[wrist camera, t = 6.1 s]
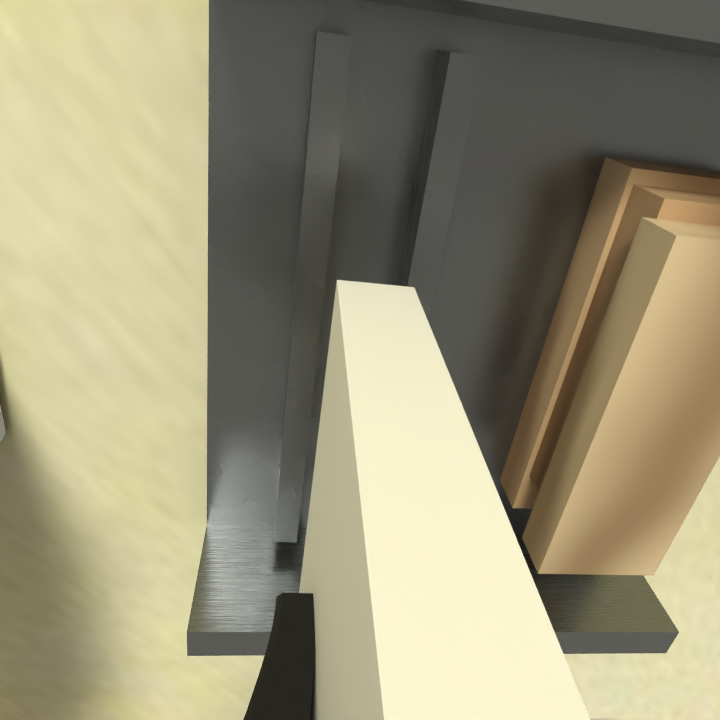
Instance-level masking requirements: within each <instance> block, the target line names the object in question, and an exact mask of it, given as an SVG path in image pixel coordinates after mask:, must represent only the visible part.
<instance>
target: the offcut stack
mask: <svg viewBox="0 0 720 720" xmlns="http://www.w3.org/2000/svg"><path fill="white" fill-rule="evenodd" d="M719 456H720V172H715V171H708V170H700V169H693V168H685V167H677V166H670V165H662V164H654V163H647V162H639V161H631V160H624V159H616V158H608V157H605V160H604V163H603V166H602V169H601V172H600V175H599V178H598V181H597V185H596V188H595V191H594V194H593V197H592V200H591V203H590V206H589V209H588V212H587V215H586V218H585V221H584V224H583V227H582V230H581V234H580V237H579V240H578V243H577V246H576V249H575V252H574V255H573V258H572V261H571V264H570V267H569V270H568V273H567V276H566V279H565V283H564V286H563V289H562V292H561V295H560V298H559V301H558V304H557V307H556V310H555V313H554V316H553V319H552V322H551V325H550V328H549V332H548V335H547V338H546V341H545V344H544V347H543V350H542V353H541V356H540V359H539V362H538V365H537V368H536V371H535V374H534V377H533V381H532V384H531V387H530V390H529V393H528V396H527V399H526V402H525V405H524V408H523V411H522V414H521V417H520V420H519V423H518V427H517V430H516V433H515V436H514V439H513V442H512V445H511V448H510V451H509V454H508V457H507V460H506V463H505V466H504V469H503V472H502V476H501V479H500V481H501V483H502V486H503V488H504V490H505V492H506V495H507V497H508V499H509V501H510V503H511V506H512V508H526V509H532V512H531V515H530V518H529V520H528V523H527V526H526V528H525V531H524V534H523V536H522V539H523V541H524V543H525V545H526V548H527V550H528V552H529V554H530V557H531V559H532V561H533V563H534V566H535V568H536V570H537V572H538V574H589V575H651V576H654V574H655V572H656V570H657V568H658V567H659V565H660V563H661V561H662V559H663V557H664V556H665V554H666V552H667V550H668V548H669V547H670V545H671V543H672V541H673V539H674V538H675V536H676V534H677V532H678V530H679V529H680V527H681V525H682V523H683V521H684V520H685V518H686V516H687V514H688V512H689V510H690V509H691V507H692V505H693V503H694V501H695V500H696V498H697V496H698V494H699V492H700V491H701V489H702V487H703V485H704V483H705V482H706V480H707V478H708V476H709V474H710V473H711V471H712V469H713V467H714V465H715V464H716V462H717V460H718V458H719Z"/></svg>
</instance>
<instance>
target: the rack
mask: <svg viewBox="0 0 720 720" xmlns="http://www.w3.org/2000/svg"><path fill="white" fill-rule="evenodd" d="M605 157H608V158H616V159H624V160H631V161H639V162H647V163H654V164H662V165H670V166H677V167H685V168H693V169H700V170H708V171H715V172H720V0H209V152H208V387H207V527H206V533H205V538H204V543H203V549H202V554H201V560H200V565H199V570H198V576H197V581H196V586H195V592H194V597H193V602H192V608H191V613H190V619H189V624H188V629H187V655H188V656H220V655H265V653H266V649H267V646H268V642H269V638H270V634H271V629H272V624H273V619H274V613H275V605H276V596H278V595H280V594H281V593H299V589H300V580H301V572H302V564H303V556H304V547H305V539H306V531H307V522H308V514H309V506H310V498H311V489H312V481H313V473H314V465H315V456H316V448H317V440H318V432H319V423H320V415H321V407H322V398H323V390H324V382H325V374H326V365H327V357H328V349H329V341H330V332H331V324H332V316H333V308H334V299H335V291H336V283H337V280H344V281H354V282H365V283H375V284H385V285H396V286H406V287H414V288H415V290H416V293H417V295H418V298H419V300H420V303H421V305H422V308H423V310H424V313H425V315H426V318H427V320H428V322H429V325H430V327H431V330H432V332H433V335H434V337H435V340H436V342H437V345H438V347H439V349H440V352H441V354H442V357H443V359H444V362H445V364H446V367H447V369H448V372H449V374H450V376H451V379H452V381H453V384H454V386H455V389H456V391H457V394H458V396H459V399H460V401H461V403H462V406H463V408H464V411H465V413H466V416H467V418H468V421H469V423H470V426H471V428H472V431H473V433H474V435H475V438H476V440H477V443H478V445H479V448H480V450H481V453H482V455H483V458H484V460H485V462H486V465H487V467H488V470H489V472H490V475H491V477H492V480H493V482H494V485H495V487H496V489H497V492H498V494H499V497H500V499H501V502H502V504H503V507H504V509H505V512H506V514H507V517H508V519H509V521H510V524H511V526H512V529H513V531H514V534H515V536H516V539H517V541H518V544H519V546H520V548H521V551H522V553H523V556H524V558H525V561H526V563H527V566H528V568H529V571H530V573H531V575H532V578H533V580H534V583H535V585H536V588H537V590H538V593H539V595H540V598H541V600H542V603H543V605H544V607H545V610H546V612H547V615H548V617H549V620H550V622H551V625H552V627H553V630H554V632H555V634H556V637H557V639H558V642H559V644H560V647H561V649H562V652H563V654H588V653H666V652H667V651H668V649H669V647H670V646H671V644H672V643H673V641H674V639H675V638H676V636H677V635H678V633H679V631H678V630H677V628H676V627H675V625H674V624H673V622H672V620H671V619H670V617H669V616H668V614H667V612H666V611H665V609H664V608H663V606H662V605H661V603H660V601H659V600H658V598H657V597H656V595H655V594H654V592H653V590H652V589H651V587H650V586H649V584H648V582H647V581H646V579H645V578H644V576H643V575H589V574H538V572H537V570H536V568H535V566H534V563H533V561H532V559H531V557H530V554H529V552H528V550H527V548H526V545H525V543H524V541H523V539H522V536H523V534H524V531H525V528H526V526H527V523H528V520H529V518H530V515H531V512H532V509H526V508H512V506H511V503H510V501H509V499H508V497H507V495H506V492H505V490H504V488H503V486H502V483H501V481H500V479H501V476H502V472H503V469H504V466H505V463H506V460H507V457H508V454H509V451H510V448H511V445H512V442H513V439H514V436H515V433H516V430H517V427H518V423H519V420H520V417H521V414H522V411H523V408H524V405H525V402H526V399H527V396H528V393H529V390H530V387H531V384H532V381H533V377H534V374H535V371H536V368H537V365H538V362H539V359H540V356H541V353H542V350H543V347H544V344H545V341H546V338H547V335H548V332H549V328H550V325H551V322H552V319H553V316H554V313H555V310H556V307H557V304H558V301H559V298H560V295H561V292H562V289H563V286H564V283H565V279H566V276H567V273H568V270H569V267H570V264H571V261H572V258H573V255H574V252H575V249H576V246H577V243H578V240H579V237H580V234H581V230H582V227H583V224H584V221H585V218H586V215H587V212H588V209H589V206H590V203H591V200H592V197H593V194H594V191H595V188H596V185H597V181H598V178H599V175H600V172H601V169H602V166H603V163H604V160H605Z"/></svg>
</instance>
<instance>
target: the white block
mask: <svg viewBox="0 0 720 720" xmlns="http://www.w3.org/2000/svg"><path fill="white" fill-rule="evenodd" d="M299 593H313V597H314V618H315V646H316V651H315V664H314V677H313V690H312V702H311V715H310V720H590V718H589V716H588V713H587V711H586V708H585V706H584V703H583V701H582V698H581V696H580V693H579V691H578V689H577V686H576V684H575V681H574V679H573V676H572V674H571V671H570V669H569V666H568V664H567V661H566V659H565V657H564V654H563V652H562V649H561V647H560V644H559V642H558V639H557V637H556V634H555V632H554V630H553V627H552V625H551V622H550V620H549V617H548V615H547V612H546V610H545V607H544V605H543V603H542V600H541V598H540V595H539V593H538V590H537V588H536V585H535V583H534V580H533V578H532V575H531V573H530V571H529V568H528V566H527V563H526V561H525V558H524V556H523V553H522V551H521V548H520V546H519V544H518V541H517V539H516V536H515V534H514V531H513V529H512V526H511V524H510V521H509V519H508V517H507V514H506V512H505V509H504V507H503V504H502V502H501V499H500V497H499V494H498V492H497V489H496V487H495V485H494V482H493V480H492V477H491V475H490V472H489V470H488V467H487V465H486V462H485V460H484V458H483V455H482V453H481V450H480V448H479V445H478V443H477V440H476V438H475V435H474V433H473V431H472V428H471V426H470V423H469V421H468V418H467V416H466V413H465V411H464V408H463V406H462V403H461V401H460V399H459V396H458V394H457V391H456V389H455V386H454V384H453V381H452V379H451V376H450V374H449V372H448V369H447V367H446V364H445V362H444V359H443V357H442V354H441V352H440V349H439V347H438V345H437V342H436V340H435V337H434V335H433V332H432V330H431V327H430V325H429V322H428V320H427V318H426V315H425V313H424V310H423V308H422V305H421V303H420V300H419V298H418V295H417V293H416V290H415V288H414V287H406V286H396V285H385V284H375V283H365V282H354V281H344V280H337V283H336V291H335V299H334V308H333V316H332V324H331V332H330V341H329V349H328V357H327V365H326V374H325V382H324V390H323V398H322V407H321V415H320V423H319V432H318V440H317V448H316V456H315V465H314V473H313V481H312V489H311V498H310V506H309V514H308V522H307V531H306V539H305V547H304V556H303V564H302V572H301V580H300V589H299Z"/></svg>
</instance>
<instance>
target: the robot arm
mask: <svg viewBox="0 0 720 720" xmlns="http://www.w3.org/2000/svg"><path fill="white" fill-rule="evenodd" d="M5 433H6V430H5V425H4V420H3V415H2V411H1V406H0V442H1V440H2V439H3V438H4V436H5ZM315 651H316V646H315V618H314V597H313V593H281V594H280V595H278V596H276V605H275V613H274V619H273V624H272V629H271V634H270V638H269V642H268V646H267V649H266V653H265V656H264V660H263V663H262V667H261V670H260V673H259V676H258V679H257V682H256V685H255V688H254V691H253V694H252V697H251V700H250V703H249V706H248V709H247V712H246V715H245V717H244V720H310V715H311V702H312V690H313V677H314V664H315Z"/></svg>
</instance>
